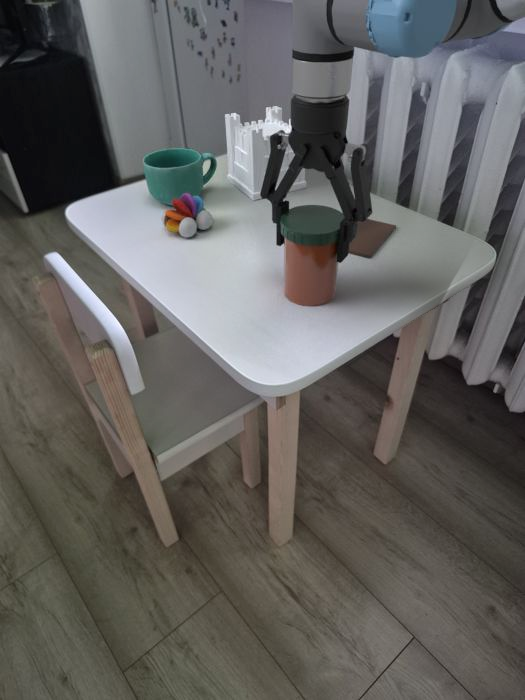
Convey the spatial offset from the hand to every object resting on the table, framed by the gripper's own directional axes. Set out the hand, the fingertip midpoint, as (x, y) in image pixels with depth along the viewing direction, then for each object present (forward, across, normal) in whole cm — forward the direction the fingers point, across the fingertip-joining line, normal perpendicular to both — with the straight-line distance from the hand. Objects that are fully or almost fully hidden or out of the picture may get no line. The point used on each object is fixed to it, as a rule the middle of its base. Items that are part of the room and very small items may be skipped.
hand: (311, 250), depth 76 cm
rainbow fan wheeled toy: (+8, +32, -8) cm, 34 cm away
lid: (-5, 0, 0) cm, 5 cm away
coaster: (+8, +2, -22) cm, 23 cm away
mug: (+8, +42, -20) cm, 47 cm away
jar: (+8, 0, 0) cm, 8 cm away
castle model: (+8, +30, -36) cm, 48 cm away
